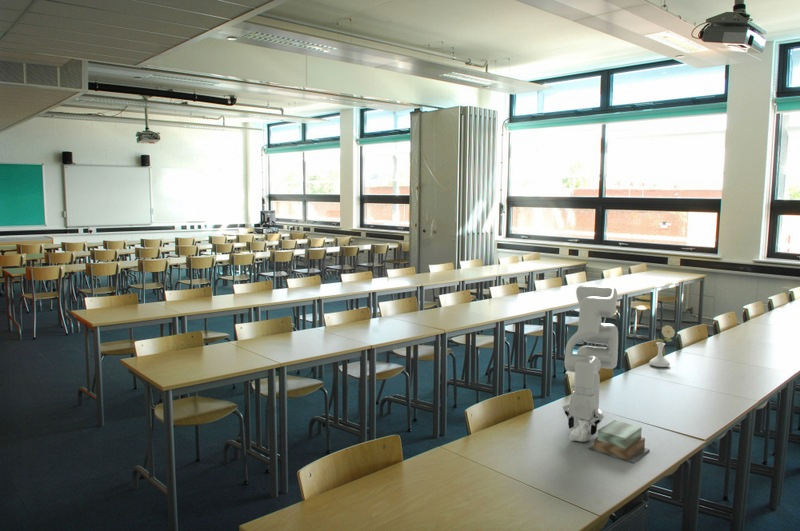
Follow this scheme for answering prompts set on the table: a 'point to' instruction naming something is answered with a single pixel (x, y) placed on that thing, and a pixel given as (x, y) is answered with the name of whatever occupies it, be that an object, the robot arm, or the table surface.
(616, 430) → the sage layered slab
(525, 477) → the table surface
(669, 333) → the flower in vase
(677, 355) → the table surface
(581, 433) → the bust
